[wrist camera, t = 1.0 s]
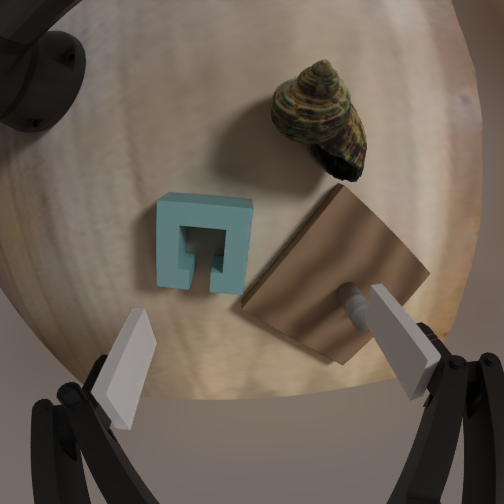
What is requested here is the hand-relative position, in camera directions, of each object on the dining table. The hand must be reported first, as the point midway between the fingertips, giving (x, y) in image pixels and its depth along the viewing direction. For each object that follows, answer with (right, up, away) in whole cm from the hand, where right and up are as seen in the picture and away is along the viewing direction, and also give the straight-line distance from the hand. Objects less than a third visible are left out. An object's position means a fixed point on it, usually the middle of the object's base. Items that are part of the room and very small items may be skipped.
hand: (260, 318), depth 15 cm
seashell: (+6, +18, +15) cm, 24 cm away
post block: (+12, -1, +22) cm, 25 cm away
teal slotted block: (-6, +6, +19) cm, 21 cm away
